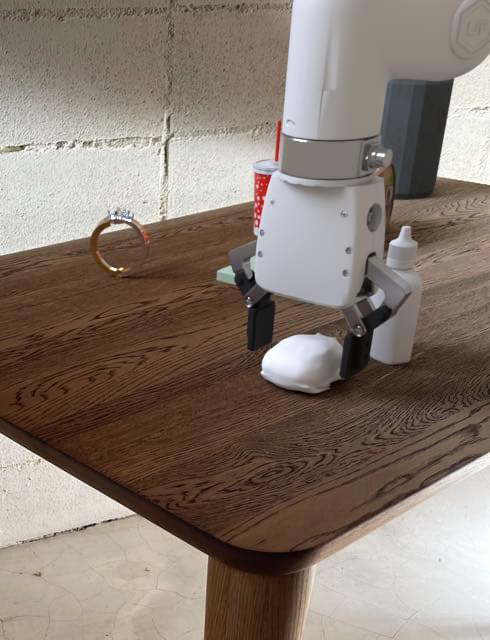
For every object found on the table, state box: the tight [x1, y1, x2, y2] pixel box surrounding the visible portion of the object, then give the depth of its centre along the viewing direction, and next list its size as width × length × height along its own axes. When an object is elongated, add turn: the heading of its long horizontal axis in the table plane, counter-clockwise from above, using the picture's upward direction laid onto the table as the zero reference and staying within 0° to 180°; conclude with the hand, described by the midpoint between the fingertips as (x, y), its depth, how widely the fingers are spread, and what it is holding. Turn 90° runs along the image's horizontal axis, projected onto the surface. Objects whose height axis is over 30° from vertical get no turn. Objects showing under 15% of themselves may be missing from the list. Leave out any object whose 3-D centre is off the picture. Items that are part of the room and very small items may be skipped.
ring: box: [89, 206, 150, 279], centre depth 104 cm, size 7×3×8 cm, turn 66°
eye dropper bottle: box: [369, 225, 424, 366], centre depth 80 cm, size 4×6×12 cm
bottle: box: [380, 78, 455, 200], centre depth 125 cm, size 10×10×30 cm
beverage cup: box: [251, 120, 282, 237], centre depth 114 cm, size 6×6×14 cm
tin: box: [374, 163, 396, 231], centre depth 113 cm, size 15×3×8 cm, turn 150°
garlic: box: [260, 332, 346, 394], centre depth 79 cm, size 8×7×4 cm
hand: (303, 359), depth 79 cm, fingers open, 9 cm apart
